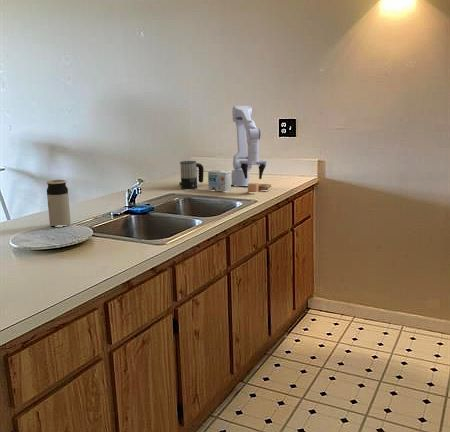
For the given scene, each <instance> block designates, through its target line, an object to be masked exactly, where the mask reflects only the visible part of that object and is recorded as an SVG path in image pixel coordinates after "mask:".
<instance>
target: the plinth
mask: <svg viewBox="0 0 450 432" xmlns="http://www.w3.org/2000/svg"><path fill="white" fill-rule="evenodd" d="M270 187H271V188H272V184H270V183H259V190H268V189H269V188H270Z"/></svg>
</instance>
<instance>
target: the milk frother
mask: <svg viewBox="0 0 450 432" xmlns="http://www.w3.org/2000/svg"><path fill="white" fill-rule="evenodd" d="M179 164H180V165H179V166H180V182H179V186H180V189H181V190H184V189H193V190H196V189H195V188H197V189H198V182H199V183H201V184H202V183H203V182H204V169H205V168H204V166H203V164H201V163H199V162H197V161H196V160H184V161H183V160H182V161H179ZM197 168H198V170H197ZM197 174H198V175H197ZM197 176H198V177H197Z"/></svg>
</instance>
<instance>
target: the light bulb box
mask: <svg viewBox="0 0 450 432" xmlns="http://www.w3.org/2000/svg"><path fill="white" fill-rule="evenodd" d="M207 174H208V175H207V177H208V178H207V181H208V183H207V186H208V188H207V189H208V190H215V191H228V190H231V191H232V186H231V185H232V171H231V170H222V169H221V170H220V169H212V170H209V171H207ZM215 191H214V192H215ZM228 192H229V191H228Z"/></svg>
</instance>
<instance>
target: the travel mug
mask: <svg viewBox="0 0 450 432" xmlns="http://www.w3.org/2000/svg"><path fill="white" fill-rule="evenodd" d="M66 183H67V180H66V179H52V180H50V179H49V180H47V181H46V184H47V188H46V197H47V207H48V218H49V226H50V227H51V226H57V225H69V224H70V225H72V224H71V223H72V222H71V221H72V220H71V212H70V202H69V201H70V200H69V188H68V187H67V184H66ZM70 225H69V226H70Z"/></svg>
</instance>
